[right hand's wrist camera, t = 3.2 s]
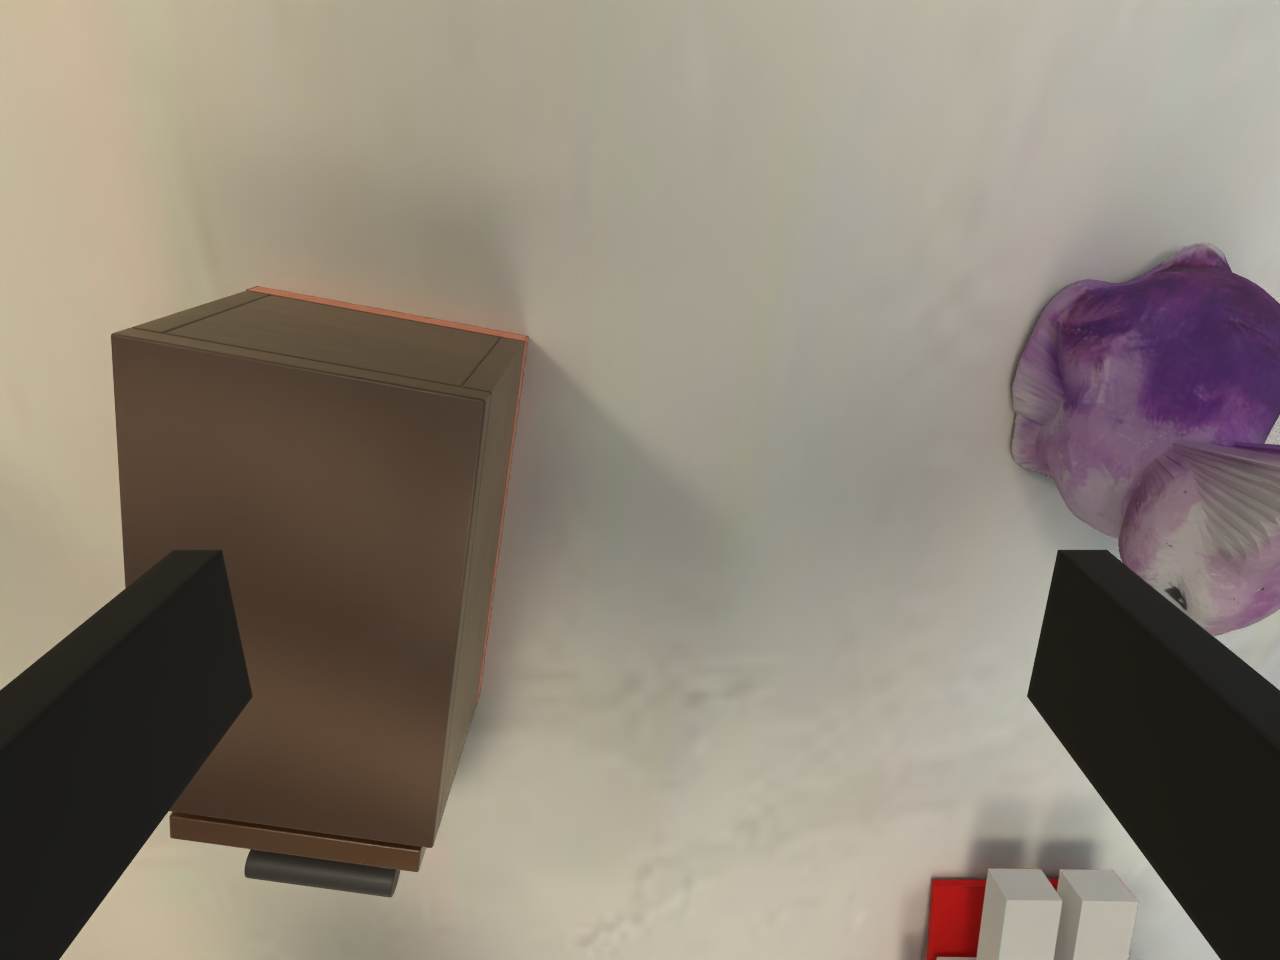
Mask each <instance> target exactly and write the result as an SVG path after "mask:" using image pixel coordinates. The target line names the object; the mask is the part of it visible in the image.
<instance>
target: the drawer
mask: <svg viewBox="0 0 1280 960" xmlns="http://www.w3.org/2000/svg"><path fill="white" fill-rule="evenodd" d="M170 837H171V838H175V839H182V840H189V841H196V842H203V843H211V844H218V845H225V846H232V847H239V848H247V849H251V850H250V852H249V855H248V857H247V861H246V865H245V877H247V878H252V879H259V880H267V881H274V882H281V883H289V884H296V885H303V886H311V887H318V888H325V889H333V890H340V891H347V892H355V893H362V894H369V895H377V896H384V897H392V896H393V894H394V892H395V889H396V886H397V882H398V878H399V873H400V870H405V871H412V872H418V871H419V869H420V865H421V862H422V859H423V856H424V853H425V850H426V847H420V846H413V845H406V844H399V843H392V842H385V841H378V840H371V839H363V838H356V837H349V836H342V835H335V834H328V833H321V832H314V831H307V830H300V829H293V828H285V827H278V826H271V825H264V824H257V823H250V822H243V821H236V820H229V819H222V818H214V817H207V816H200V815H193V814H186V813H179V812H172V814H171V815H170Z"/></svg>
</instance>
